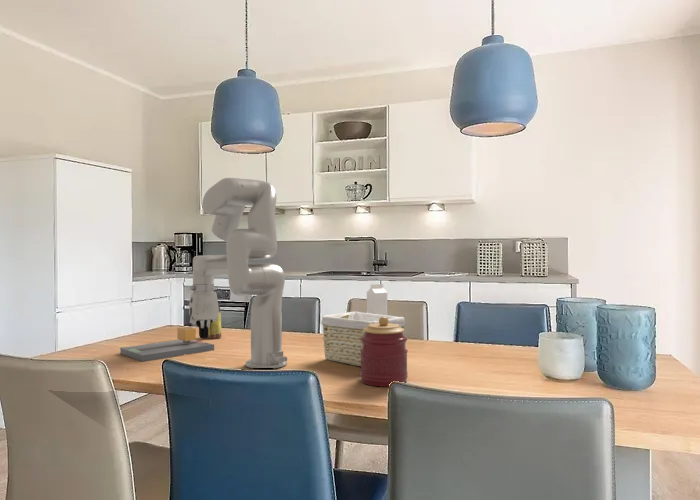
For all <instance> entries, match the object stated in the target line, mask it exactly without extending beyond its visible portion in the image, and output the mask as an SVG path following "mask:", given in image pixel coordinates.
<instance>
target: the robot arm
mask: <svg viewBox="0 0 700 500" xmlns="http://www.w3.org/2000/svg"><path fill="white" fill-rule="evenodd" d="M201 204H202V205H201V206H202V208H203V211H204V212H205V214H207V215H212V216H213V215H215V217H214V221H213V224H212V226H211V232H212V234H213V235H214V236H215V237H217V238H218V239H220V240H222V241H223V242H226V244H225V245H226V254H214V255H213V254H211V255H210V254H207V255H196V256H194V257H193V258H192V286H189V291H192V292H191V293H190V298H189V307H188V308H189V309H188V317H189V323H190V324H193V325H194V324H195V325H196V326H197V328H198V336H199V338H200V339H202V340H203V339H208V327H210V324H211V323H212V322H214V321H217V317H218V316H219V308H218V304H219V300H218V296H217V294H218V293H217V294H216V292H214V289H215V276H217V277H219V276H228V277H227V279H228V280H227V281H228V285H229V290H230V291H231V292H232V293H233V294H234V295H235V296H239V297H245V296H255V298H254V300H253V302H252V304H251V307H250V359H248V360H247V361H245V366H246V367H248V368H250V369H253V368H273V369H277V368H278V369H279V368H283V367H285V366H286V365H287V364H288V357H287V356H284V350H283V348H282V347H283V346H282V345H283V344H282V343H283V342H282V341H283V340H282V339H283V338H282V337H283V331H282V330H283V328H282V325H283V323H282V321H283V319H282V318H283V317H282V315H283V313H282V308H283V307H282V305H283V293H284V287H285V281H286V277H285V272H284V270H283V268H282V267H281V266H280V265H277V264H276V263H275V264H274V263H267V262H266V263H249V260H251V261H252V260H253V261H254V260H269V259H272V258H274V257H275V256H276V255H277V252H278V251H277V250H278V238H277V237H278V236H277V223H276V215H275V214H276V205H277V192H276V189H275V187H274V186H273V185H272V184H271V183H270V182H267V181H265V180H261V179H260V180H259V179H249V178H248V179H247V178H240V177H239V178H238V177H237V178H236V177H224V178H222V179H220V180H219V181H217V182H216V183H215V184H213V185H212V186H211V187H209V188H208V190H207V191H206V192H205V194H204V195H203V198H202V203H201ZM247 206H251V207H250V209H249V210H248V211H249V212H248V214H247V226H248V227H247V228H239V227H240V223H241V220H242V217H243V214H244V212H245V209H246V207H247Z"/></svg>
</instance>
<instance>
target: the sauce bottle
mask: <svg viewBox="0 0 700 500" xmlns="http://www.w3.org/2000/svg"><path fill="white" fill-rule="evenodd" d="M214 292H216V294H218V293H217V292H218V289H217V288H214ZM218 308H219V316H218V317H217V321H214V322H212V323H211V324H210V327H208V338H207V339H208V340H209V339H210V340H212V339H213V340H214V339H219V338H222V316H221V315H222V313H221V306H220V304H219V303H218Z"/></svg>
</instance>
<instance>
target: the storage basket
mask: <svg viewBox="0 0 700 500" xmlns="http://www.w3.org/2000/svg"><path fill="white" fill-rule="evenodd" d="M321 317H322V318H321V320H320V321H321V322H320V324H321V325H322V333H323V334H322V335H323V336H322V337H323V338H322V339H323V347H324V358H325V359H326V360H327V361H330V362H337V363H341V364H347V365H348V364H349V365H351V366H355V367H356V366H357V367H361V352H360V349H361V348H362V341H361V340H360V337H361V336H363V335H364V333H365V332H364V331H363V329H364V328H366V327H367V326H368V325H369V324H374V323H379V319H380V318H381V317H387V318H388V321H389V322H388V323H392V324H398V325H399V326H400V327H402V328H403V329H404V330H405V327H406V318H405V317H404V316H395V315H388V314H387V315H378V314H370V313H367V312H362V311H357V310H354V311H349V312H348V311H347V312H339V313H334V314H326V315H323V316H321ZM404 333H405V331H404V332H403V334H404ZM404 335H405V334H404Z"/></svg>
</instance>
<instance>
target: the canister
mask: <svg viewBox="0 0 700 500" xmlns="http://www.w3.org/2000/svg"><path fill="white" fill-rule="evenodd" d="M388 322H389V321H388V318H387V317H381V318H380V319H379V323H374V324H369V325H368V326H367V327H366V328H364V329H363V331H364V332H365V333H364V335H363V336H361V337H360V340H361V341H362V348H361V349H360V352H361V366H360V372H359V375H360V380H361V381H360V382H362V383H363V384H366V385H369V386H373V387H390V386H389V384H390V383H391V382H393V381H399V382H406V383H407V381H408V374H409V372H408V352H409V351H408V349H407V345H406V344H407V343H406V342H407V341H408V337H407V336H406V335H405V334H403V332H404V333H405V328H404V329H403V328H402V327H400V326H399V325H398V324H392V323H388Z"/></svg>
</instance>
